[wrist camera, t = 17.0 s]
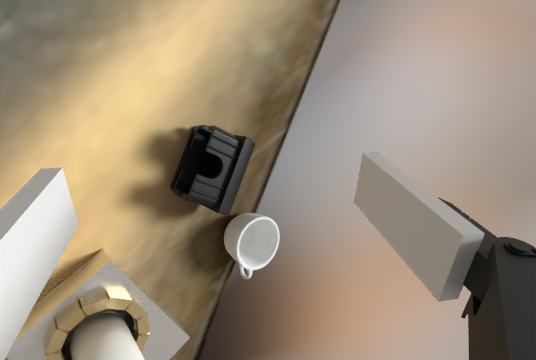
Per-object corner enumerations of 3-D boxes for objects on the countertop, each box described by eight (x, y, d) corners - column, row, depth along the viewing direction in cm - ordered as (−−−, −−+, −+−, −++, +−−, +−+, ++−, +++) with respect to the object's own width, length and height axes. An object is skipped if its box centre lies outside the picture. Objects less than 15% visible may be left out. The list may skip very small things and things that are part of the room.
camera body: (0, 331, 33) (-2, 364, 29) (102, 248, 38) (113, 266, 34) (104, 397, 41) (115, 430, 37) (178, 321, 46) (195, 343, 42)
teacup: (220, 207, 47) (240, 217, 43) (261, 207, 52) (283, 216, 48) (211, 273, 48) (230, 288, 44) (253, 266, 53) (273, 280, 49)
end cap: (212, 206, 46) (237, 218, 41) (167, 192, 42) (189, 204, 36) (236, 141, 47) (264, 145, 42) (194, 121, 42) (220, 123, 37)
